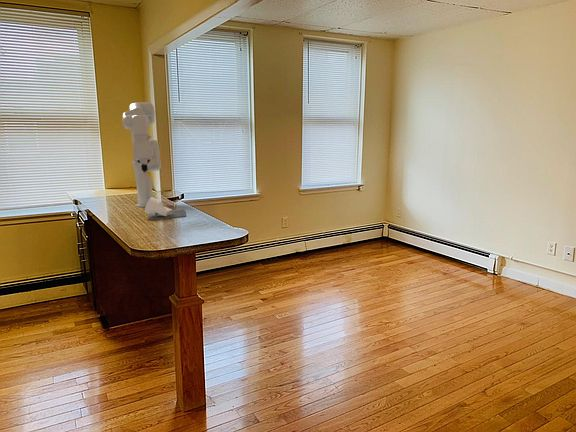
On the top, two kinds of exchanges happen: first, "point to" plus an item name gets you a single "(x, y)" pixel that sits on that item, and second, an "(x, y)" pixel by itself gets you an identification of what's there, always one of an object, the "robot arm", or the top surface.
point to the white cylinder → (156, 208)
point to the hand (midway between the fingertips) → (144, 171)
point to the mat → (173, 215)
